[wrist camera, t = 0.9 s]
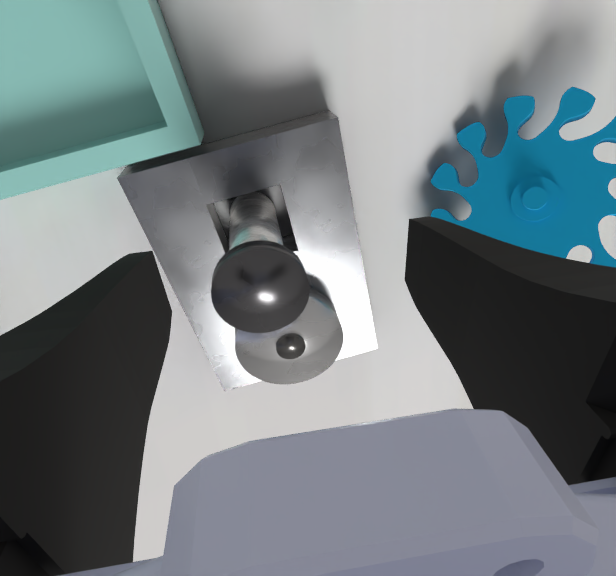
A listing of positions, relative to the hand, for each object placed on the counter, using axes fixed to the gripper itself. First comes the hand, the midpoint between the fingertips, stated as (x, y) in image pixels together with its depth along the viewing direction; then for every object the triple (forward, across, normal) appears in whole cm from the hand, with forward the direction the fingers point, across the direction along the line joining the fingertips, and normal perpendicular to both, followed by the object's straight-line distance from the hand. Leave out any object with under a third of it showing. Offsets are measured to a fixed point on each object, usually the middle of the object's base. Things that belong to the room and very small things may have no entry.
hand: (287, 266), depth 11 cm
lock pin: (+10, +1, +3) cm, 11 cm away
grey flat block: (+10, +1, +6) cm, 12 cm away
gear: (+11, -12, +3) cm, 17 cm away
